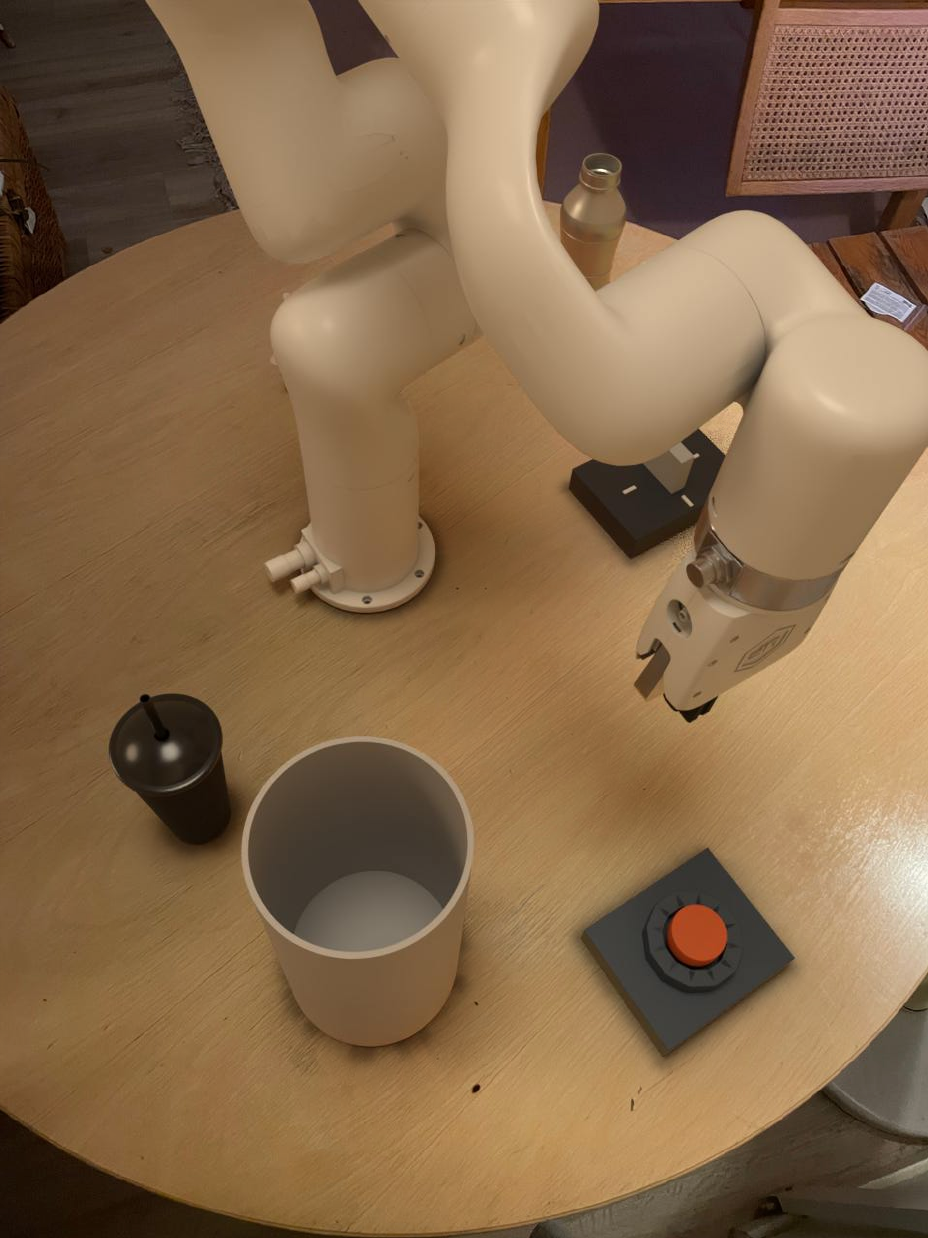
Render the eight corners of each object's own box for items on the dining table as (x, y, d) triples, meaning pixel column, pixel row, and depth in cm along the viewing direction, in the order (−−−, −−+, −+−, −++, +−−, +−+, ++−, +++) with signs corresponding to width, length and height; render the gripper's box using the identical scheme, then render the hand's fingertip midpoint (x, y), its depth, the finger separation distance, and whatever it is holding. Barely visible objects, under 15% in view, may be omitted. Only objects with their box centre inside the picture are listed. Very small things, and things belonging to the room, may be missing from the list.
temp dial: (684, 487, 99) (695, 454, 95) (671, 494, 98) (682, 461, 94) (651, 453, 101) (661, 419, 97) (639, 459, 100) (648, 426, 96)
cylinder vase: (267, 914, 79) (213, 782, 57) (420, 853, 82) (422, 706, 61) (321, 1078, 73) (283, 998, 52) (484, 1006, 76) (511, 902, 55)
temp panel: (630, 559, 98) (636, 539, 95) (568, 488, 102) (572, 467, 99) (742, 499, 102) (751, 478, 99) (678, 433, 106) (684, 412, 104)
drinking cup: (207, 881, 80) (150, 776, 63) (131, 829, 82) (56, 714, 65) (268, 802, 83) (230, 683, 66) (194, 755, 85) (139, 627, 68)
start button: (690, 978, 74) (695, 972, 72) (655, 930, 76) (659, 923, 74) (732, 947, 75) (738, 941, 74) (697, 901, 77) (702, 894, 75)
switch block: (662, 1057, 74) (674, 1047, 71) (580, 938, 79) (587, 923, 75) (786, 965, 78) (803, 951, 75) (701, 856, 82) (713, 839, 79)
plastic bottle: (607, 350, 113) (641, 187, 96) (545, 347, 112) (568, 184, 95) (603, 309, 116) (635, 145, 99) (543, 306, 116) (565, 141, 99)
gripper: (703, 660, 48) (626, 802, 64) (929, 532, 53) (805, 693, 69) (609, 545, 51) (558, 707, 67) (830, 433, 56) (734, 609, 72)
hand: (683, 700), depth 68 cm, fingers closed
